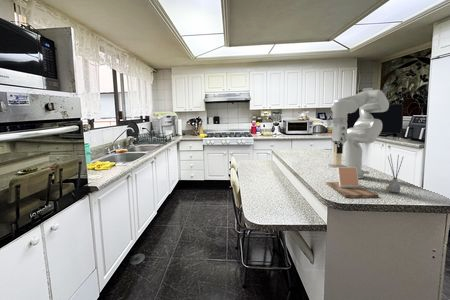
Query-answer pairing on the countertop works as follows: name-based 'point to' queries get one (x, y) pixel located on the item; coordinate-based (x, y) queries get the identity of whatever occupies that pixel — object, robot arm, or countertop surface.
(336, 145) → the trowel
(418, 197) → the countertop surface
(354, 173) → the tile
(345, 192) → the board
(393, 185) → the reed diffuser
